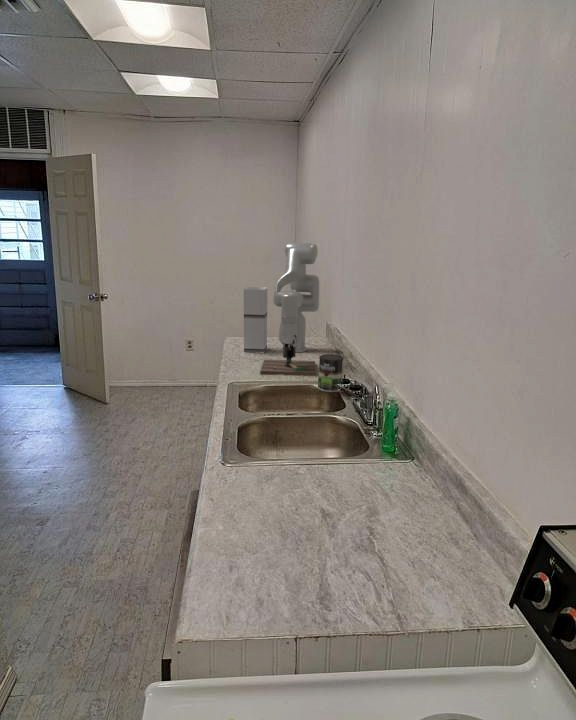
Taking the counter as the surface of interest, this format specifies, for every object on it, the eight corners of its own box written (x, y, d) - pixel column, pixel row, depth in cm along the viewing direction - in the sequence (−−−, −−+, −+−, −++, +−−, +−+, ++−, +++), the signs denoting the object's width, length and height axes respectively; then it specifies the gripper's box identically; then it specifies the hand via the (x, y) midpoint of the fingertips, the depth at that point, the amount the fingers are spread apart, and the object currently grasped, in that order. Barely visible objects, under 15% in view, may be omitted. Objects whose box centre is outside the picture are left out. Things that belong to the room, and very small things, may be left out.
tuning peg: (281, 364, 252) (281, 346, 249) (292, 363, 254) (292, 345, 252) (291, 370, 242) (291, 351, 240) (302, 369, 244) (302, 350, 242)
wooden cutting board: (264, 362, 263) (264, 357, 262) (314, 363, 262) (315, 358, 261) (260, 374, 241) (260, 368, 241) (315, 375, 240) (315, 369, 240)
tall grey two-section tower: (267, 348, 294) (267, 287, 285) (264, 352, 283) (264, 289, 275) (247, 347, 295) (247, 286, 286) (243, 352, 284) (243, 288, 276)
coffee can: (336, 393, 214) (338, 361, 211) (314, 389, 219) (315, 357, 215) (345, 387, 223) (347, 356, 220) (324, 383, 228) (325, 353, 224)
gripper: (273, 318, 250) (273, 354, 254) (292, 323, 237) (291, 361, 241) (286, 316, 254) (285, 352, 259) (305, 321, 241) (304, 359, 246)
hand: (288, 356), depth 250 cm, fingers closed on tuning peg, 2 cm apart
